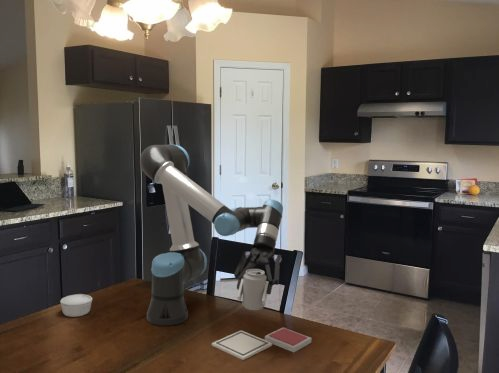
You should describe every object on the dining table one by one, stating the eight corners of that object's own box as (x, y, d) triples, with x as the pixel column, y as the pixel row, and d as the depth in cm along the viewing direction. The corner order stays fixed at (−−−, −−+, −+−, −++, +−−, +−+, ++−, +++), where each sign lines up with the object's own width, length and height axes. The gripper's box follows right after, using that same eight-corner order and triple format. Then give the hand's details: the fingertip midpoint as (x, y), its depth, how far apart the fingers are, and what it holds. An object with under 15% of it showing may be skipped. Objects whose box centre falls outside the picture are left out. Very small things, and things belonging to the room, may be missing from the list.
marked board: (211, 345, 150) (211, 342, 150) (240, 332, 160) (240, 330, 160) (243, 360, 141) (243, 357, 141) (272, 345, 151) (272, 342, 151)
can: (263, 312, 146) (265, 275, 144) (240, 309, 147) (241, 273, 145) (266, 303, 153) (268, 268, 151) (244, 301, 154) (246, 266, 153)
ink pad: (264, 340, 154) (264, 335, 154) (282, 331, 162) (283, 326, 162) (293, 352, 147) (293, 346, 146) (311, 342, 154) (311, 337, 154)
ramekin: (98, 311, 176) (98, 298, 175) (73, 320, 166) (73, 306, 166) (79, 304, 182) (79, 291, 181) (54, 313, 172) (54, 300, 172)
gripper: (295, 248, 160) (283, 310, 146) (239, 242, 165) (223, 301, 152) (293, 237, 154) (281, 300, 140) (235, 230, 159) (218, 291, 146)
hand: (251, 300), depth 146 cm, fingers closed on can, 7 cm apart
